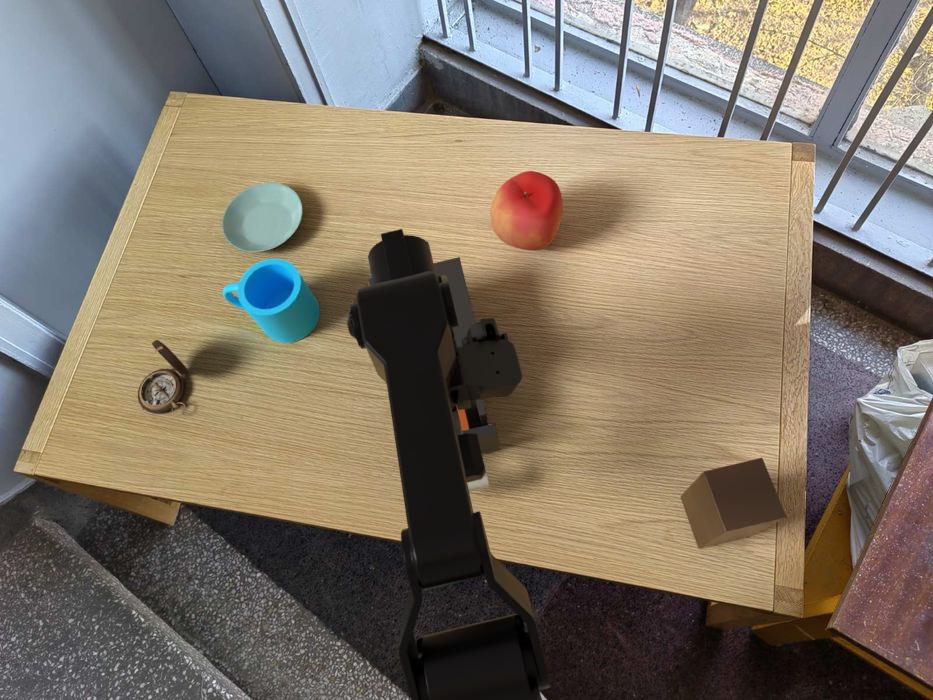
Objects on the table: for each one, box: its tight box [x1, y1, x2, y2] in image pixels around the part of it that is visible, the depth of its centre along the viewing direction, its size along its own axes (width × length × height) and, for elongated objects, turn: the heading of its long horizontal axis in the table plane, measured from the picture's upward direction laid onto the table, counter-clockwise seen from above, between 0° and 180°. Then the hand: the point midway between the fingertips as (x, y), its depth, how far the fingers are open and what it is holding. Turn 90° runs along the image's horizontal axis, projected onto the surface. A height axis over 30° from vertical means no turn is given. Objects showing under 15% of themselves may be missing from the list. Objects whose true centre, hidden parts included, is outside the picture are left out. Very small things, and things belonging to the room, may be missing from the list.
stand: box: [680, 457, 787, 549], centre depth 72 cm, size 6×6×12 cm
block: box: [457, 407, 470, 431], centre depth 80 cm, size 4×4×4 cm
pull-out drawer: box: [462, 399, 501, 492], centre depth 80 cm, size 17×10×7 cm, turn 12°
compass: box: [137, 339, 191, 417], centre depth 86 cm, size 8×8×7 cm
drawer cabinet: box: [367, 256, 477, 348], centre depth 85 cm, size 14×12×9 cm
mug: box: [222, 258, 321, 344], centre depth 89 cm, size 12×8×8 cm
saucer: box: [221, 182, 303, 253], centre depth 98 cm, size 12×12×2 cm
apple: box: [489, 170, 564, 251], centre depth 90 cm, size 10×10×10 cm
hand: (445, 417), depth 75 cm, fingers open, 9 cm apart
